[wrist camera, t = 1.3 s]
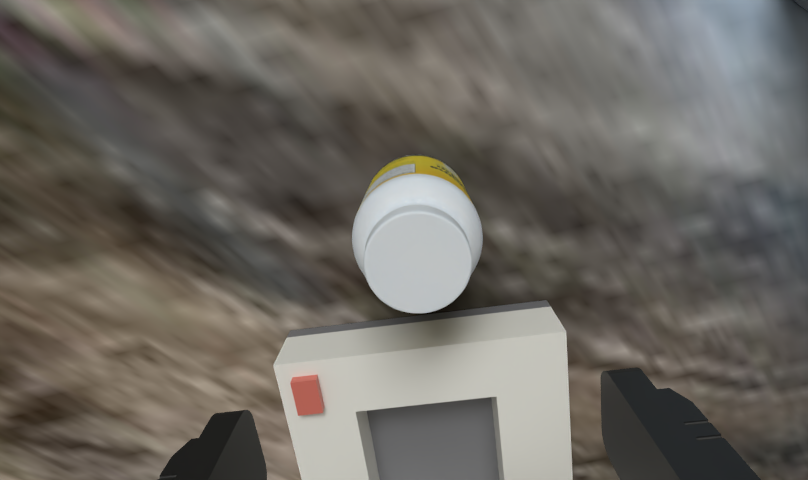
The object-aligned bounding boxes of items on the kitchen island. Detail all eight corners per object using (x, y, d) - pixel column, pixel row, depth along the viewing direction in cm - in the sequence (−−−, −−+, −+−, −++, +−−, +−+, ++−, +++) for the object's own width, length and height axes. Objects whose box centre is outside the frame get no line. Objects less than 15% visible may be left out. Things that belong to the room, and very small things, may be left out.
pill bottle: (470, 243, 33) (501, 325, 22) (374, 255, 33) (356, 342, 22) (460, 145, 31) (488, 180, 20) (358, 159, 31) (329, 201, 20)
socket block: (546, 300, 34) (569, 336, 29) (558, 505, 39) (578, 565, 34) (290, 330, 35) (270, 370, 30) (335, 527, 40) (325, 587, 35)
